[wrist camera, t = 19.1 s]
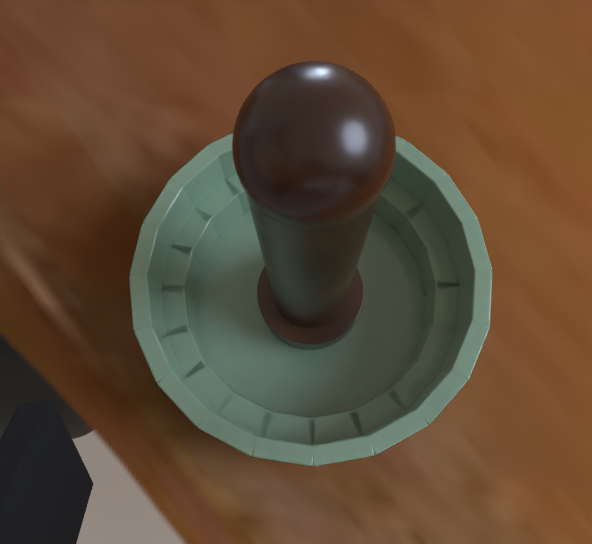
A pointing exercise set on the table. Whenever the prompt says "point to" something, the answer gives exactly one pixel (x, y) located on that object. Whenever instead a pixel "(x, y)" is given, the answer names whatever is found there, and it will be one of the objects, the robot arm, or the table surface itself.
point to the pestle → (312, 193)
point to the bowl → (321, 362)
